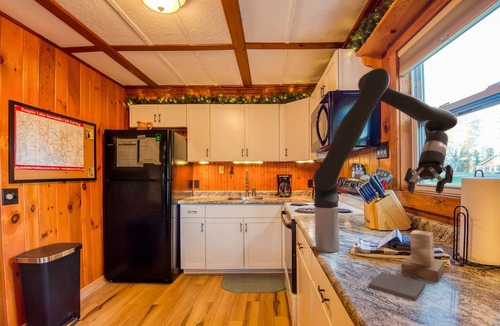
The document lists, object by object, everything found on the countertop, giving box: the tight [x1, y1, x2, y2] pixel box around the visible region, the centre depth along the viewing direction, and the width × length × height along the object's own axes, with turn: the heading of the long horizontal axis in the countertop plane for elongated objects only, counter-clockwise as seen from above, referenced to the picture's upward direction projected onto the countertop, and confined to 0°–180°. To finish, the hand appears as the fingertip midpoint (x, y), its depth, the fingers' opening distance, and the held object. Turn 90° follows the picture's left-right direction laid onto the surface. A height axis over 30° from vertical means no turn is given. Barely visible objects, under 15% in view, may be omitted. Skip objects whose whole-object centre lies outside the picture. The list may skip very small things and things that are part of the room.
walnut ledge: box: [400, 254, 445, 283], centre depth 78 cm, size 9×11×3 cm
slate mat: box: [368, 271, 427, 301], centre depth 69 cm, size 11×11×1 cm
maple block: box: [409, 229, 435, 266], centre depth 78 cm, size 5×5×9 cm
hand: (423, 192), depth 88 cm, fingers open, 8 cm apart
